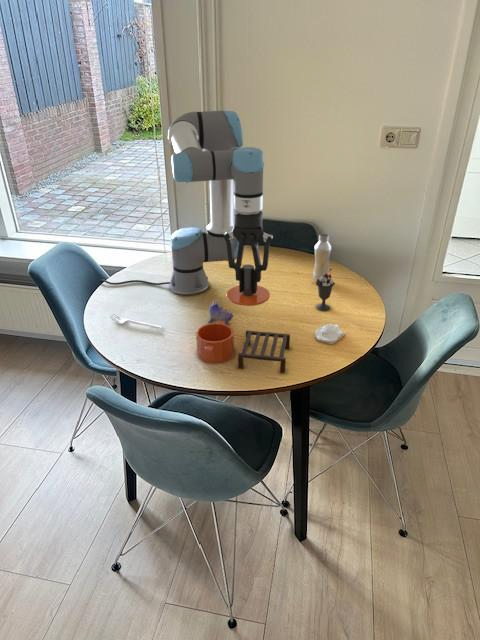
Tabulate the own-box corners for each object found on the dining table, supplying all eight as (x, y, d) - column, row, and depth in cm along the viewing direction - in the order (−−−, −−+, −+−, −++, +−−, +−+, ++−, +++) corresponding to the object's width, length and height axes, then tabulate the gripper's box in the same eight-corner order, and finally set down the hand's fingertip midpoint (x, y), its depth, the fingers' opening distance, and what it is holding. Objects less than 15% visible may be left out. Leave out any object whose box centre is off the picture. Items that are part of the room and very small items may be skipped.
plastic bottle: (329, 286, 190) (334, 238, 180) (312, 286, 190) (316, 238, 180) (327, 279, 196) (331, 232, 186) (311, 279, 196) (314, 232, 186)
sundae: (334, 305, 176) (338, 268, 169) (329, 313, 171) (333, 275, 164) (317, 301, 179) (320, 264, 171) (311, 309, 174) (314, 272, 166)
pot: (190, 366, 144) (189, 345, 140) (204, 336, 158) (203, 317, 155) (227, 370, 142) (227, 349, 138) (238, 340, 156) (238, 320, 153)
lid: (222, 305, 134) (221, 274, 129) (231, 286, 144) (231, 256, 140) (266, 309, 132) (267, 277, 127) (272, 289, 142) (273, 259, 137)
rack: (238, 368, 143) (237, 354, 140) (246, 343, 155) (246, 330, 152) (284, 373, 141) (285, 359, 138) (289, 347, 152) (290, 334, 150)
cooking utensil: (160, 331, 161) (159, 326, 160) (109, 321, 167) (108, 317, 166) (164, 327, 164) (164, 322, 163) (114, 317, 170) (113, 312, 169)
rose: (348, 333, 151) (317, 333, 151) (347, 345, 153) (316, 345, 153) (343, 317, 159) (314, 317, 160) (342, 329, 162) (313, 329, 162)
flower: (214, 319, 155) (224, 295, 160) (195, 322, 160) (205, 299, 165) (231, 336, 160) (240, 312, 165) (212, 338, 166) (221, 315, 171)
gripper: (214, 213, 124) (217, 294, 135) (277, 216, 121) (274, 299, 132) (221, 205, 130) (223, 283, 142) (281, 208, 127) (278, 287, 139)
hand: (248, 290), depth 137 cm, fingers closed on lid, 3 cm apart
